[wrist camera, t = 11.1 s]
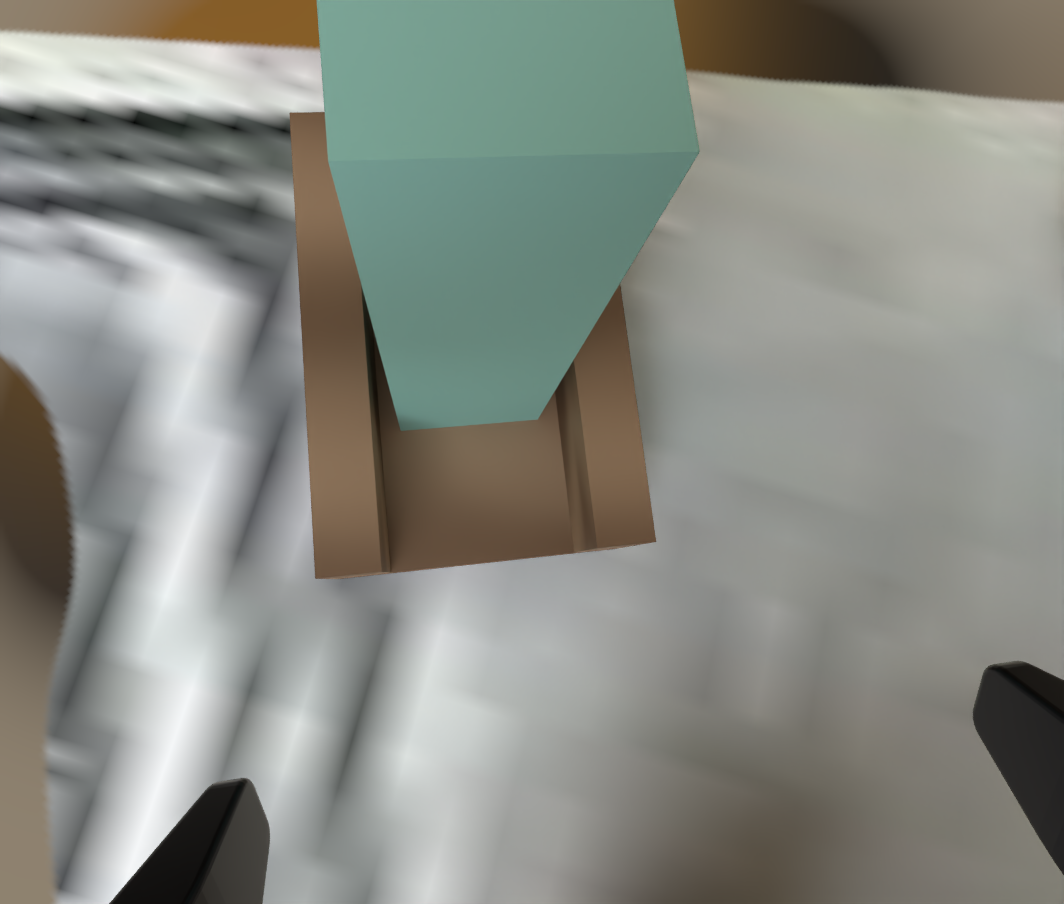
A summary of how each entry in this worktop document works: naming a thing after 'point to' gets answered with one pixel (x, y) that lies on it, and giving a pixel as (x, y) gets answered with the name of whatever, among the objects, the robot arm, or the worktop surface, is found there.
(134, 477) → the worktop surface
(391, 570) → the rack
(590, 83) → the block
